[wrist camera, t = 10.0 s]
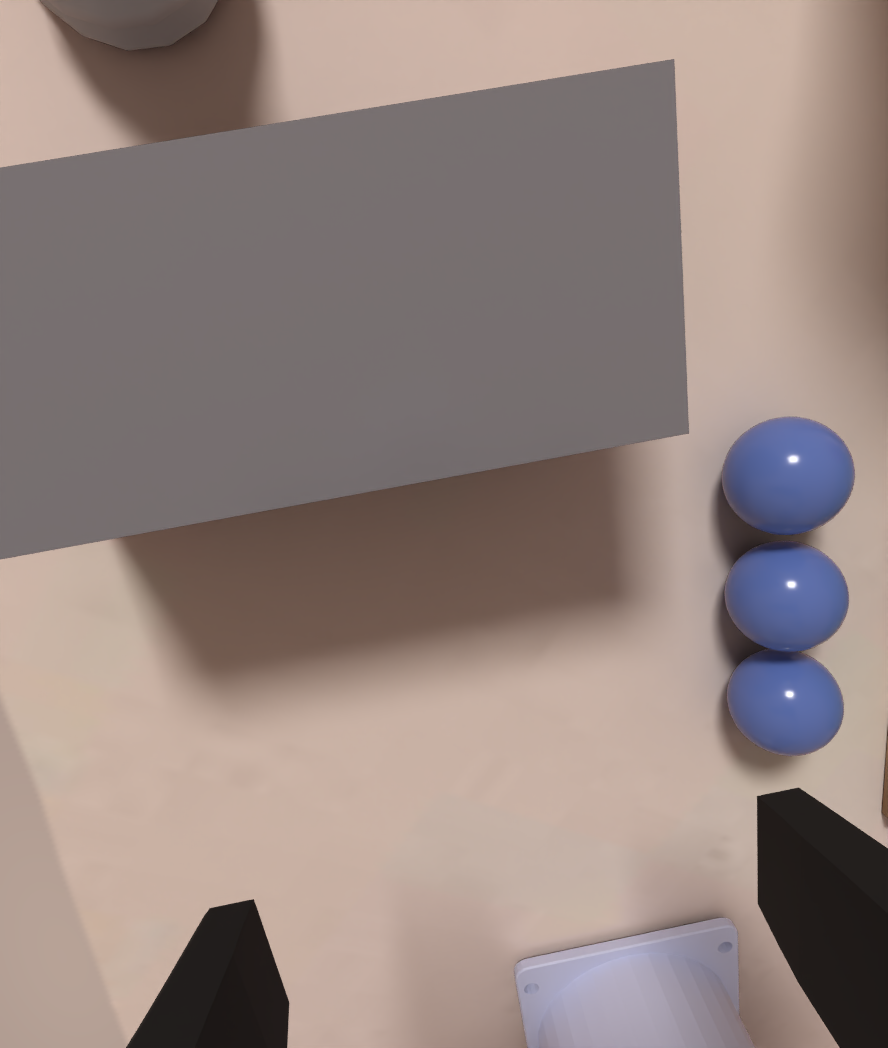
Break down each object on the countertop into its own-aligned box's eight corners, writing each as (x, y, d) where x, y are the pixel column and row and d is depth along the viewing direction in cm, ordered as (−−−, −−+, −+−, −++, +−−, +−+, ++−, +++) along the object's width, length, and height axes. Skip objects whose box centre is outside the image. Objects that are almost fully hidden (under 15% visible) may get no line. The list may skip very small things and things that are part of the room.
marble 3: (801, 704, 21) (866, 767, 18) (709, 723, 21) (761, 788, 18) (802, 621, 20) (872, 674, 17) (706, 640, 20) (761, 696, 17)
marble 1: (804, 503, 19) (880, 539, 16) (703, 523, 19) (761, 562, 16) (807, 399, 18) (888, 417, 15) (699, 418, 18) (761, 440, 15)
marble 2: (803, 609, 20) (873, 660, 17) (706, 628, 20) (761, 683, 17) (804, 517, 19) (879, 554, 16) (703, 536, 19) (761, 577, 16)
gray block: (564, 149, 15) (674, 58, 10) (586, 390, 17) (688, 433, 11) (-1, 242, 15) (-234, 205, 9) (84, 480, 17) (-68, 572, 11)
